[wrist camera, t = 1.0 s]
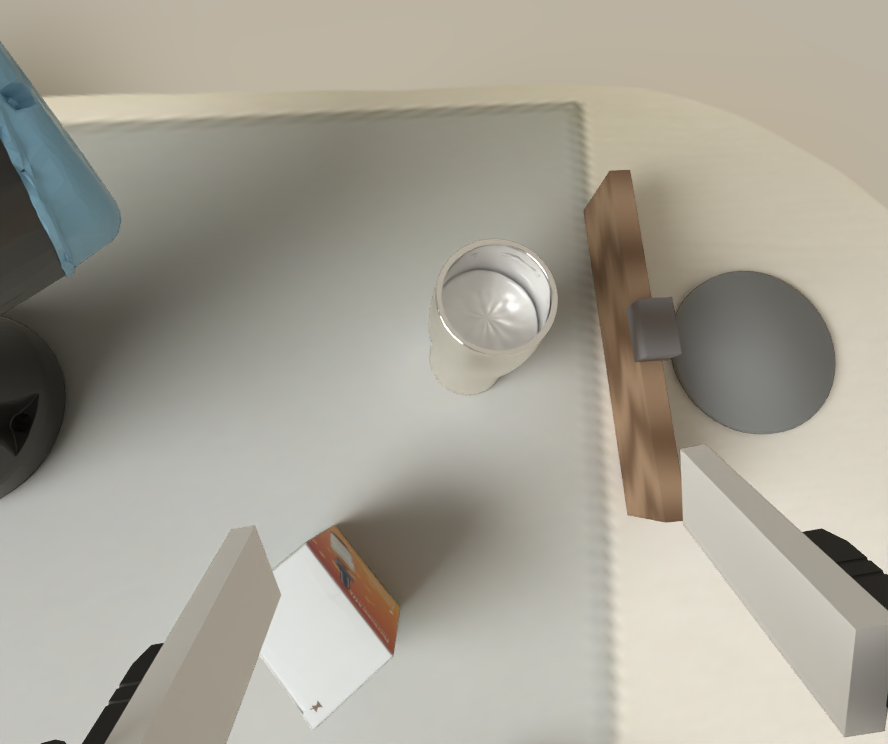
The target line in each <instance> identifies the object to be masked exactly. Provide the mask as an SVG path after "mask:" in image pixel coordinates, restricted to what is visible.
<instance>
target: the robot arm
mask: <svg viewBox="0 0 888 744" xmlns="http://www.w3.org/2000/svg"><path fill="white" fill-rule="evenodd" d="M120 224H121V215H120V210H119V208H118V205H117V203H116V202H115V200H114V198H113V197H112V195H111V194H110V192H109V191H108V189H107V188H106V186H105V185H104V183H103V182H102V180H101V179H100V178H99V176H98V175H97V173H96V172H95V170H94V169H93V168H92V166H91V165H90V163H89V162H88V160H87V159H86V158H85V156H84V155H83V153H82V152H81V151H80V149H79V148H78V146H77V145H76V144H75V142H74V141H73V139H72V138H71V137H70V135H69V134H68V133H67V131H66V130H65V128H64V127H63V126H62V124H61V123H60V121H59V120H58V119H57V117H56V116H55V115H54V113H53V112H52V111H51V109H50V108H49V107H48V105H47V104H46V102H45V101H44V100H43V98H42V97H41V96H40V94H39V93H38V91H37V90H36V89H35V87H34V86H33V85H32V83H31V82H30V80H29V79H28V78H27V76H26V75H25V74H24V72H23V71H22V70H21V68H20V67H19V66H18V64H17V63H16V61H15V60H14V59H13V58H12V56H11V55H10V54H9V52H8V51H7V49H6V48H5V47H4V45H3V44H2V43H1V42H0V498H1V497H3V496H4V495H6V494H8V493H9V492H11V491H12V490H14V489H15V488H16V487H18V486H19V485H20V484H21V483H22V482H24V481H25V480H26V479H27V478H28V477H29V476H30V475H31V474H32V473H33V472H34V471H35V470H36V469H37V468H38V466H39V465H40V464H41V462H42V461H43V460H44V458H45V457H46V455H47V454H48V452H49V451H50V449H51V447H52V445H53V443H54V441H55V439H56V437H57V435H58V432H59V429H60V426H61V423H62V419H63V414H64V408H65V387H64V380H63V376H62V372H61V369H60V366H59V364H58V362H57V360H56V358H55V356H54V354H53V353H52V351H51V349H50V348H49V347H48V346H47V344H46V343H45V342H44V341H43V340H42V339H41V338H40V337H39V336H38V335H37V334H36V333H34V332H33V331H32V330H30V329H29V328H27V327H26V326H24V325H22V324H20V323H18V322H16V321H14V320H11V319H9V318H6V317H3V316H1V315H2V314H4V313H5V312H7V311H9V310H10V309H12V308H13V307H15V306H17V305H18V304H20V303H21V302H23V301H25V300H26V299H28V298H29V297H31V296H33V295H34V294H36V293H38V292H39V291H41V290H42V289H44V288H46V287H47V286H49V285H50V284H52V283H54V282H55V281H57V280H59V279H60V278H62V277H63V276H66V277H69V276H71V275H72V273H74V271H75V267H76V266H78V265H79V264H80V263H82V262H83V261H85V260H86V259H88V258H89V257H90V256H92V255H93V254H95V253H96V252H98V251H99V250H100V249H102V248H103V247H105V246H106V245H108V244H109V243H110V242H111V241H112V240H113V239H114V238H115V237H116V236H117V234H118V232H119V228H120ZM680 456H681V482H682V508H683V525H684V527H685V528H686V529H687V531H688V532H689V533H690V535H691V536H692V537H693V539H694V540H695V541H696V543H697V544H698V545H699V546H700V548H701V549H702V550H703V552H704V553H705V554H706V556H707V557H708V558H709V560H710V561H711V562H712V564H713V565H714V566H715V568H716V569H717V570H718V572H719V573H720V574H721V575H722V577H723V578H724V579H725V581H726V582H727V583H728V585H729V586H730V587H731V589H732V590H733V591H734V593H735V594H736V595H737V597H738V598H739V599H740V601H741V602H742V603H743V604H744V606H745V607H746V608H747V610H748V611H749V612H750V614H751V615H752V616H753V618H754V619H755V620H756V622H757V623H758V624H759V626H760V627H761V628H762V630H763V631H764V632H765V633H766V635H767V636H768V637H769V639H770V640H771V641H772V643H773V644H774V645H775V647H776V648H777V649H778V651H779V652H780V653H781V655H782V656H783V657H784V658H785V660H786V661H787V662H788V664H789V665H790V666H791V668H792V669H793V670H794V672H795V673H796V674H797V676H798V677H799V678H800V680H801V681H802V682H803V684H804V685H805V686H806V687H807V689H808V690H809V691H810V693H811V694H812V695H813V697H814V698H815V699H816V701H817V702H818V703H819V705H820V706H821V707H822V709H823V710H824V711H825V713H826V714H827V715H828V716H829V718H830V719H831V720H832V722H833V723H834V724H835V726H836V727H837V728H838V730H839V731H840V732H841V734H842V735H843V736H844V737H850V736H856V735H863V734H869V733H875V732H882V731H885V725H886V718H887V711H888V575H887V574H884V573H883V570H881V569H880V568H879V567H878V566H877V565H875V564H874V563H873V562H872V561H871V560H870V561H868V560H867V557H866V556H865V555H863V554H862V553H861V552H860V551H859V550H857V549H856V548H855V547H854V546H853V545H851V544H850V543H849V542H848V541H846V540H844V539H842V538H840V537H838V536H836V535H834V534H832V533H830V532H828V531H826V530H824V529H817V530H811V531H805V532H801V531H800V530H799V529H798V528H797V527H796V526H795V525H794V524H793V523H791V522H790V521H789V520H788V519H787V518H786V517H785V516H784V515H783V514H782V513H781V512H779V511H778V510H777V509H776V508H775V507H774V506H773V505H772V504H771V503H770V502H768V501H767V500H766V499H765V498H764V497H763V496H762V495H761V494H760V493H759V492H758V491H756V490H755V489H754V488H753V487H752V486H751V485H750V484H749V483H748V482H747V481H746V480H744V479H743V478H742V477H741V476H740V475H739V474H738V473H737V472H736V471H735V470H734V469H732V468H731V467H730V466H729V465H728V464H727V463H726V462H725V461H724V460H723V459H722V458H720V457H719V456H718V455H717V454H716V453H715V452H714V451H713V450H712V449H711V448H710V447H708V446H707V445H706V444H705V445H699V446H693V447H688V448H682V449H680ZM280 597H281V593H280V590H279V587H278V585H277V582H276V579H275V577H274V574H273V572H272V569H271V566H270V564H269V561H268V558H267V556H266V553H265V551H264V548H263V545H262V543H261V540H260V537H259V535H258V532H257V529H256V527H255V525H254V526H249V527H243V528H238V529H232V530H231V531H230V532H229V534H228V536H227V537H226V539H225V541H224V542H223V544H222V546H221V548H220V549H219V551H218V553H217V554H216V556H215V558H214V559H213V561H212V563H211V564H210V566H209V568H208V570H207V571H206V573H205V575H204V576H203V578H202V580H201V581H200V583H199V585H198V586H197V588H196V590H195V592H194V593H193V595H192V597H191V598H190V600H189V602H188V603H187V605H186V607H185V608H184V610H183V612H182V614H181V615H180V617H179V619H178V620H177V622H176V624H175V625H174V627H173V629H172V630H171V632H170V634H169V636H168V637H167V639H166V641H165V642H164V643H161V644H155V645H151V646H150V647H149V648H148V649H147V650H146V651H145V652H144V653H143V654H142V655H141V656H140V657H139V658H138V659H137V660H136V661H135V662H134V663H133V664H132V666H131V667H130V669H129V670H128V672H127V674H126V675H125V677H124V678H123V680H122V681H121V683H120V685H119V686H120V687H119V689H116V691H115V693H114V694H113V696H112V697H111V699H110V700H109V705H108V706H106V707H105V708H104V710H103V712H102V713H101V715H100V716H99V718H98V719H97V721H96V723H95V724H94V726H93V727H92V729H91V731H90V732H89V734H88V735H87V737H86V738H85V740H84V742H83V743H82V744H226V743H227V740H228V737H229V735H230V732H231V729H232V727H233V724H234V721H235V719H236V716H237V713H238V710H239V708H240V705H241V702H242V700H243V697H244V694H245V692H246V689H247V686H248V683H249V681H250V678H251V675H252V673H253V670H254V667H255V665H256V662H257V659H258V656H259V654H260V651H261V648H262V646H263V643H264V640H265V638H266V635H267V632H268V630H269V627H270V624H271V621H272V619H273V616H274V613H275V611H276V608H277V605H278V603H279V600H280ZM41 744H66V743H65V741H60V740H52V741H48V742H44V743H41Z"/></svg>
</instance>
